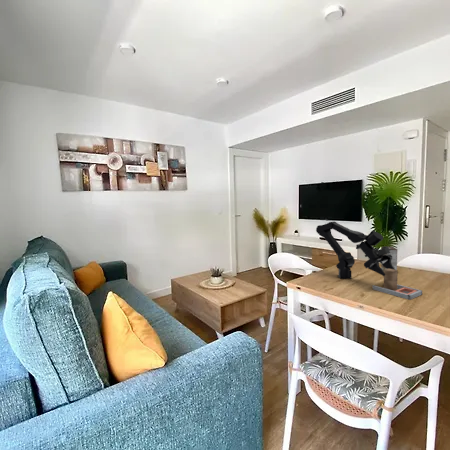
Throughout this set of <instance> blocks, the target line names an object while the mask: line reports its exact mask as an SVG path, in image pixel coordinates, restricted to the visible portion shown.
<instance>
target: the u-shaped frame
mask: <svg viewBox="0 0 450 450" xmlns="http://www.w3.org/2000/svg"><path fill="white" fill-rule="evenodd" d="M404 287H405V288H409V289H412V290H416V292H414V293H412V294H409V295H408V294H404V293H400V292H397V291H393V290H389V289H386V288H384V287H381V286H378V285H374V284H373V285H372V290H373V291H378V292H381V293H384V294H388V295H391V296H395V297H398V298H402V299H406V300H409V301H411V300H413V299H416V298H417V297H419V296H423V290H421V289H417V288H414V287H411V286H410V287H409V286H406V285H401V284H398V283H397V290H399V289H401V288H404Z"/></svg>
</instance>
